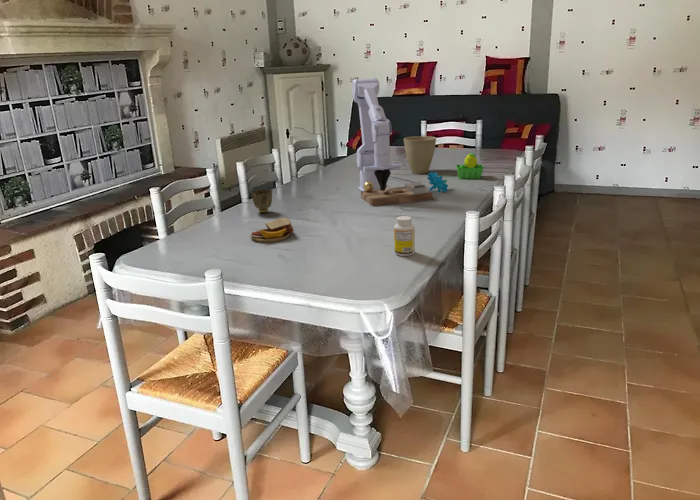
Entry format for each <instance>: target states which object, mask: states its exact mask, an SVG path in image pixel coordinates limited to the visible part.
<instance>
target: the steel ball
mask: <svg viewBox="0 0 700 500" xmlns="http://www.w3.org/2000/svg"><path fill="white" fill-rule="evenodd" d="M391 188H392V187H391V186H390V185H389V184H386V189H385V190H383V191H382V192H383V193H384V194H388V193H389V192H390V191H391Z"/></svg>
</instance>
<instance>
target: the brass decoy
mask: <svg viewBox="0 0 700 500" xmlns="http://www.w3.org/2000/svg"><path fill="white" fill-rule="evenodd" d="M363 188H364V190H365V191H367V192H370V191H372V190H373V188H374V185H373V183H372V182H369V181H368V182H365V183H364V185H363Z"/></svg>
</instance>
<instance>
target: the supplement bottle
mask: <svg viewBox="0 0 700 500" xmlns="http://www.w3.org/2000/svg"><path fill="white" fill-rule="evenodd" d="M412 222H413V221H412V217H411V216H407V215H402V216H398V217H397V218H396V224H395V225H394V226H393V227H394V228H393V234H394V235H393V238H394V239H393V240H394V241H393V242H394V253H395V255H397V256H401V257H410V256H412V255H414V254H415V251H416V249H415V243H416V242H415V239H416V238H415V232H416V231H415V230H416V229H415V224H414V223H412Z"/></svg>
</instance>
